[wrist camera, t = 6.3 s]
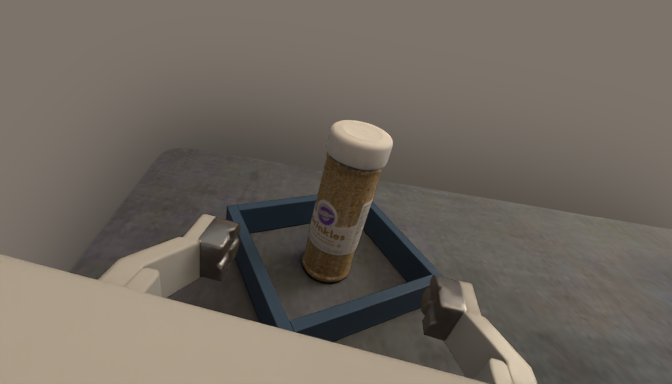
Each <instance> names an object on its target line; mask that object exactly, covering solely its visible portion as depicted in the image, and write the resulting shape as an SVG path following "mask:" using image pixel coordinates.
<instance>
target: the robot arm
mask: <svg viewBox="0 0 672 384" xmlns="http://www.w3.org/2000/svg"><path fill="white" fill-rule="evenodd" d="M240 226H241V225H240V224H239V223H236V222H232V221H229V220H225V219H222V218H218V217H214V216H210V215H207V214H204V215H202V216H201V217H200V218H199V219H198V220H197V221H196V223H195V224H194V225H193V226H192V227H191V228H190V230H189V231H188V232H187V233H186V234H185V235H184V237H183V238H182V237H177V238H175V239H172V240H169V241H167V242H164V243H161V244H158V245H156V246H153V247H150V248H148V249H145V250H142V251H140V252H137V253H134V254H131V255H129V256H126V257H123V258H121V259H119V260H118V261H117V262H116V263H115V264H114V265H113V266H112V267H111V268H110V269H109V270H107V271H106V272H105V273H104V274H103V275H102V276H101V277H100V278H99V279H98V280H95V279H91V278H88V277H84V276H80V275H76V274H72V273H69V272H65V271H61V270H57V269H53V268H50V267H45V266H42V265H38V264H35V263H31V262H27V261H23V260H19V259H16V258H12V257H9V256H6V255H2V254H0V384H537V381H536V379H535V376H534V374H533V371H532V368H531V367H530V366H529V365H528V364H527V363H526V362H525V360H524V359H523V358H522V357H521V356H520V355H519V354H518V353H517V352H516V351H515V350H514V348H513V347H512V346H511V345H510V344H509V343H508V342H507V341H506V340H505V339H504V338H503V336H502V335H501V334H500V333H499V332H498V331H497V330H496V329H495V328H494V327H493V326H492V324H491V323H490V322H489V321H488V320H487V319H486V318H485V317H482V316H481V314H480V310H479V307H478V303H477V300H476V297H475V293H474V290H473V287H472V285H471V284H470V283H466V282H462V281H457V280H453V279H449V278H445V277H441V276H437V275H433V276H432V278H431V279H430V287H428V288H426V289H425V291H424V293H423V296H422V300H421V311H422V313H423V314H424V315H425V317H424V319H423V320H422V321H423V330H424V335H426V336H430V337H433V338H437V339H440V340H443V341H445V344H446V345H447V347H448V349H449V350H450V352H451V353H452V355H453V357H454V358H455V360H456V362H457V363H458V365H459V366H460V368H461V370H462V371H463V373H464V375H465V376H466V377H463V376H459V375H455V374H451V373H448V372H444V371H440V370H436V369H432V368H428V367H425V366H421V365H417V364H413V363H409V362H406V361H402V360H398V359H394V358H391V357H387V356H383V355H379V354H375V353H372V352H368V351H364V350H360V349H357V348H353V347H349V346H345V345H342V344H338V343H334V342H330V341H326V340H323V339H319V338H315V337H311V336H307V335H304V334H300V333H296V332H292V331H288V330H285V329H281V328H277V327H273V326H269V325H266V324H262V323H258V322H254V321H250V320H247V319H243V318H239V317H235V316H231V315H228V314H224V313H220V312H216V311H213V310H209V309H205V308H201V307H197V306H194V305H190V304H186V303H182V302H178V301H175V300H171V299H167V297H169V296H170V295H172V294H174V293H175V292H177V291H179V290H180V289H182V288H183V287H185V286H187V285H188V284H190V283H192V282H193V281H195V280H197V279H198V278H200V277H205V278H209V279H213V280H217V281H221V280H222V278H223V277H224V275H225V273H226V272H227V270H228V263H231V262H233V260H234V258H235V256H236V254H237V251H238V247H239V241H240V240H239V238H238V234H239V233H240Z"/></svg>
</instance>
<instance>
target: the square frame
mask: <svg viewBox="0 0 672 384" xmlns="http://www.w3.org/2000/svg"><path fill="white" fill-rule="evenodd" d="M317 197H318V195H310V196H302V197H294V198H286V199H278V200H270V201H262V202H254V203H246V204H238V205H230V206H227V215H226V220H229V221H232V222H236V223H239V224H240V225H241V226H240V233H239V234H238V238H239V240H240V241H239V247H238V251H237V254H236V259H237V262H238V264H239V267H240V270H241V272H242V275H243V278H244V280H245V283H246V285H247V288H248V291H249V293H250V296H251V299H252V301H253V304H254V307H255V309H256V312H257V315H258V317H259V320H260V322H261V323H262V324H266V325H269V326H273V327H277V328H281V329H285V330H288V331H292V332H296V333H300V334H304V335H307V336H311V337H315V338H319V339H323V340H326V341H330V342H332V341H335V340H338V339H340V338H343V337H345V336H348V335H350V334H353V333H356V332H358V331H361V330H363V329H366V328H369V327H371V326H374V325H376V324H379V323H382V322H384V321H387V320H389V319H392V318H395V317H397V316H400V315H402V314H405V313H407V312H410V311H413V310H415V309H418V308H420V307H421V300H422V296H423V293H424V291H425V289H426V288H428V287H430V279H431V278H432V276H433V275H437V276H441V277H444V276H443V275H442V274H441V273H440V272H439V271H438V270H437V269H436V268H435V267H434V266H433V265H432V264H431V263H430V262H429V261H428V260H427V258H426V257H425V256H424V255H423V254H422V253H421V252H420V251H419V250H418V249H417V248H416V247H415V246H414V245H413V244H412V243H411V242H410V240H409V239H408V238H407V237H406V236H405V235H404V234H403V233H402V232H401V231H400V230H399V229H398V228H397V227H396V226H395V225H394V224H393V222H392V221H391V220H390V219H389V218H388V217H387V216H386V215H385V214H384V213H383V212H382V211H381V210H380V209H379V208H378V207H377V206H376V205H375V203H374V202H373V201H372V203H371V206H370V209H369V212H368V215H367V218H366V221H365V224H364V227H363V229H364V230H365V231H366V233H367V234H368V235H369V236H370V237H371V239H372V240H373V241H374V242H375V243H376V245H377V246H378V247H379V248H380V249H381V251H382V252H383V253H384V254H385V255H386V257H387V258H388V259H389V260H390V261H391V263H392V264H393V265H394V266H395V267H396V269H397V270H398V271H399V272H400V273H401V275H402V276H403V277H404V278H405V279H406V281H407V282H408V283H405V284H401V285H398V286H395V287H392V288H389V289H386V290H383V291H380V292H377V293H374V294H371V295H368V296H365V297H361V298H358V299H355V300H352V301H349V302H346V303H343V304H340V305H337V306H334V307H331V308H328V309H325V310H321V311H318V312H315V313H312V314H309V315H306V316H303V317H300V318H297V319H294V320H291V321H290V322H289V320H288V318H287V315H286V313H285V311H284V309H283V306H282V304H281V302H280V300H279V298H278V295H277V293H276V291H275V289H274V287H273V284H272V282H271V280H270V278H269V275H268V273H267V271H266V269H265V267H264V264H263V262H262V260H261V258H260V256H259V253H258V251H257V249H256V247H255V244H254V242H253V240H252V238H251V236H250V233H254V232H259V231H265V230H271V229H277V228H283V227H289V226H295V225H301V224H307V223H311V219H312V215H313V211H314V207H315V203H316V201H317Z"/></svg>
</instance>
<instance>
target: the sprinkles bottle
mask: <svg viewBox="0 0 672 384" xmlns="http://www.w3.org/2000/svg"><path fill="white" fill-rule="evenodd" d="M392 145H393V141H392V138H391V137H390V136H389V134H388V133H386V132H385V131H384V130H382V129H380V128H378V127H376V126H374V125H371V124H368V123H365V122H361V121H354V120H343V121H338V122H336V123H334V124H333V126H332V127H331V130H330V134H329V137H328V141H327V147H326V148H327V160H326V163H325V166H324V171H323V175H322V179H321V184H320V188H319V192H318V197H317V201H316V203H315V207H314V211H313V215H312V219H311V224H310V229H309V237H308V241H307V245H306V251H305V252H304V254H303V258H302V262H303V266H304V268H305V270H306V271H307V273H308V274H309V275H311V277H313V278H315V279H317V280H319V281H322V282H329V283H330V282H337V281H340V280H342V279H344V278H345V277H346V276H347V275H348V273H349V272H350V268H351V261H352V259H353V256H354V252H355V249H356V248H357V246H358V243H359V240H360V237H361V234H362V230H363V227H364V224H365V221H366V218H367V215H368V212H369V209H370V206H371V203H372V200H373V197H374V192H375V188H376V186H377V183H378V180H379V177H380V174H381V171H382V170H383V168H384V166H385V165H386V164H387V161H388V158H389V155H390V152H391V149H392Z"/></svg>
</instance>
